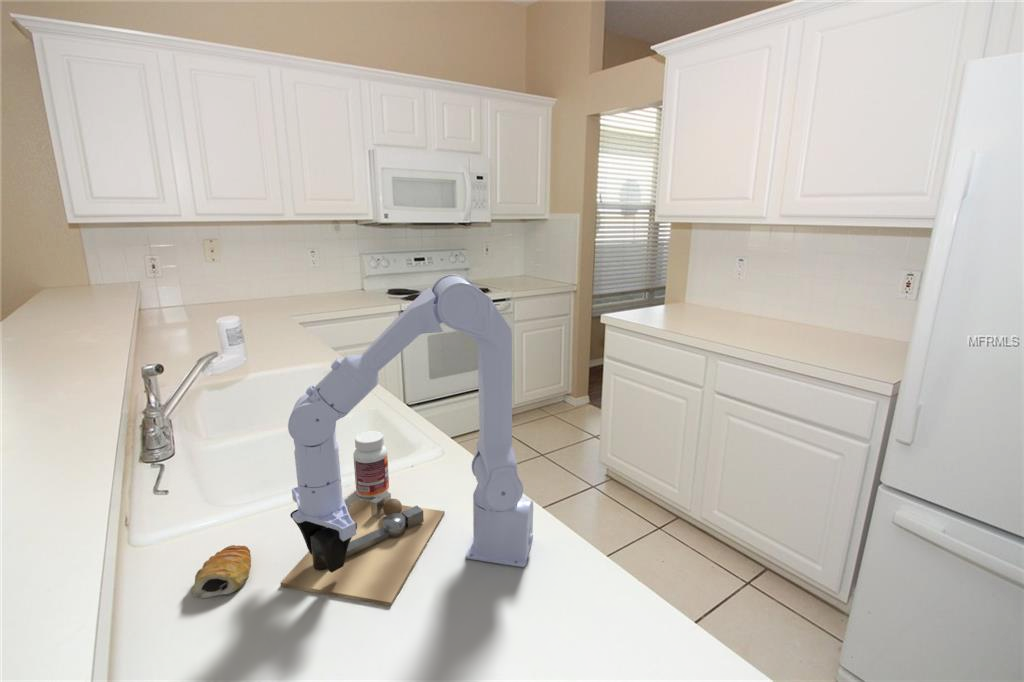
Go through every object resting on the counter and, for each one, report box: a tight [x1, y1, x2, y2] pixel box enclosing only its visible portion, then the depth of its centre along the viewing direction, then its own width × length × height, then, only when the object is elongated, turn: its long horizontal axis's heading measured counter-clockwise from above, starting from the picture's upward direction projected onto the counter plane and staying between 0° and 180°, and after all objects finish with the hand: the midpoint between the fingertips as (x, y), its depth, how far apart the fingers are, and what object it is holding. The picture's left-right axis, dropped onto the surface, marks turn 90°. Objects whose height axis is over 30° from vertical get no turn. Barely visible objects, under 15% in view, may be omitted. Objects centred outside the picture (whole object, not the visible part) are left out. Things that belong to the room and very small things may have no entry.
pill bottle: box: [353, 430, 390, 499], centre depth 95 cm, size 6×6×11 cm
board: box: [280, 498, 445, 607], centre depth 80 cm, size 17×22×1 cm
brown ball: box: [383, 498, 403, 516], centre depth 87 cm, size 3×3×3 cm
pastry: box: [191, 544, 252, 599], centre depth 73 cm, size 9×7×4 cm
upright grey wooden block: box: [370, 491, 392, 518], centre depth 88 cm, size 4×1×3 cm, turn 153°
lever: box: [310, 505, 424, 570], centre depth 80 cm, size 18×4×5 cm, turn 133°
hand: (326, 559), depth 74 cm, fingers open, 5 cm apart
